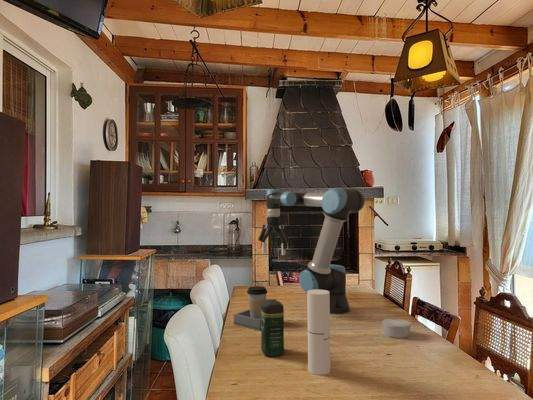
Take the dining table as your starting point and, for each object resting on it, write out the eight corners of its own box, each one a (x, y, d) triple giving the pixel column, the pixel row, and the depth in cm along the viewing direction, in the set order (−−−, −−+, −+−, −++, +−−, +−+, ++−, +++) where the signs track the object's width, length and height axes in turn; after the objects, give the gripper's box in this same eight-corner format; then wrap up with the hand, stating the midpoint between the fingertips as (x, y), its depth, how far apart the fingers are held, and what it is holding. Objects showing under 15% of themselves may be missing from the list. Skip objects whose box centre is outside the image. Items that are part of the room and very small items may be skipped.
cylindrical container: (306, 365, 121) (305, 289, 121) (327, 364, 121) (326, 289, 122) (310, 375, 114) (309, 294, 114) (333, 374, 114) (332, 294, 115)
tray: (280, 322, 168) (280, 312, 168) (259, 330, 156) (259, 320, 156) (254, 316, 177) (254, 307, 177) (233, 324, 165) (233, 314, 166)
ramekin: (410, 332, 153) (410, 319, 154) (412, 341, 143) (411, 327, 143) (382, 329, 157) (382, 317, 157) (382, 338, 146) (381, 324, 147)
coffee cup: (265, 324, 161) (265, 290, 162) (244, 323, 163) (244, 289, 163) (269, 318, 170) (269, 286, 171) (249, 317, 172) (249, 285, 173)
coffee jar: (286, 356, 129) (286, 303, 129) (264, 358, 127) (264, 304, 128) (280, 346, 138) (279, 297, 139) (259, 348, 137) (259, 298, 137)
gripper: (252, 216, 212) (252, 253, 211) (287, 216, 196) (288, 256, 196) (260, 216, 218) (260, 252, 217) (295, 216, 202) (295, 254, 202)
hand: (273, 254), depth 206 cm, fingers open, 13 cm apart
